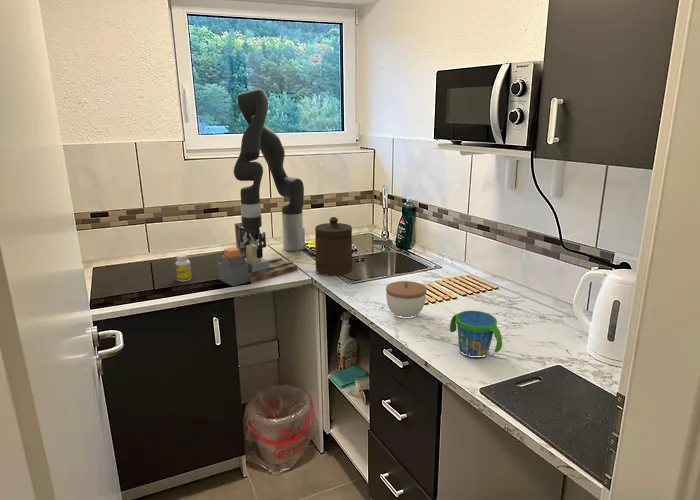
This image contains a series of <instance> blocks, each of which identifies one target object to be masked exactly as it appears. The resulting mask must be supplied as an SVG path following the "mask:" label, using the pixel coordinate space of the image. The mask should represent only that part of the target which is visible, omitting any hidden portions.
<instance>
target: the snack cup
mask: <svg viewBox="0 0 700 500" xmlns="http://www.w3.org/2000/svg"><path fill="white" fill-rule="evenodd" d="M497 323H498V320H497V318H496V317H495V316H494V315H492V314H490V313H487V312H484V311H482V310H481V311H480V310H464V311H461V312H458V313H456V314H455V315H453V316H452V317H451V320H450V323H449V332H451V333H454V332H456V331H457V338H458V339H457V340H458V348H459V349H460V350H459V352H460V351H461V352H463V353H464V354H467V355H470V356H483V355H486V354H487V353H489V350H490V347H491V344H492V341H493V336H494V337H495V341H496V344H495V348H494V353H498V352H500V351H501V349H502V347H503V336H502V333H501V330H500V329H499V327H498V326H497V325H498V324H497ZM487 355H488V354H487ZM487 355H486V356H487Z"/></svg>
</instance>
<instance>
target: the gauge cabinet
mask: <svg viewBox="0 0 700 500" xmlns="http://www.w3.org/2000/svg"><path fill="white" fill-rule="evenodd" d="M219 257H220V258H219V259H220V261H218V262H217V270H218V271H217V273H218V281H220V280H221V282H222V281H223V282H222V283H225V284H227V285H229V286H231V287H235V286H239V285H243V284H246V283H250V282H249V271H248V264H246V263H245V260H244V256H243V255H241V254H240V256H238V257H234V258H227V257H225V254H223V255H220V256H219Z"/></svg>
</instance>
